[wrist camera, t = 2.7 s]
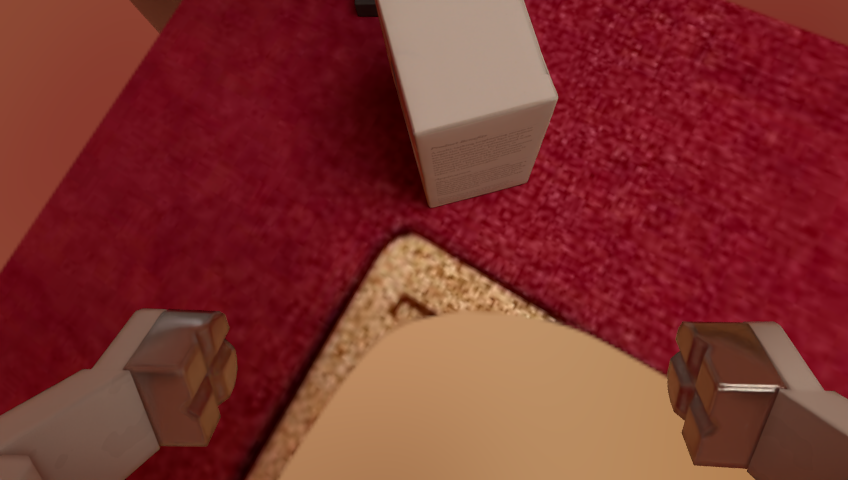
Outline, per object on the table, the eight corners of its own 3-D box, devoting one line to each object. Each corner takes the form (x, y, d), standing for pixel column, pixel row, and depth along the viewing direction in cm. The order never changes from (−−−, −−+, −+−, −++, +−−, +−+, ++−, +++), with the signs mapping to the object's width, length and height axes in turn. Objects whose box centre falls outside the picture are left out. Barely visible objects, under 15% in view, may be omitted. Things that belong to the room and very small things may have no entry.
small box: (392, 79, 34) (361, -49, 23) (489, 53, 34) (500, -87, 23) (427, 212, 32) (410, 137, 22) (530, 185, 32) (560, 97, 22)
